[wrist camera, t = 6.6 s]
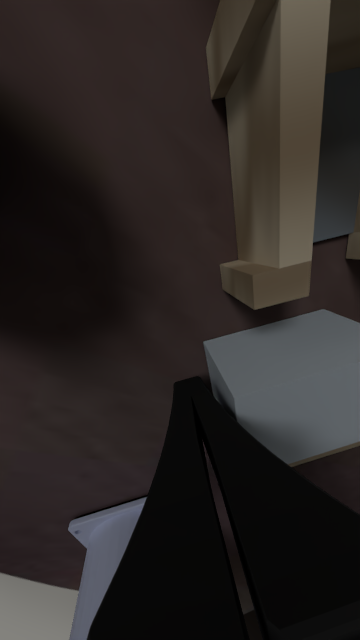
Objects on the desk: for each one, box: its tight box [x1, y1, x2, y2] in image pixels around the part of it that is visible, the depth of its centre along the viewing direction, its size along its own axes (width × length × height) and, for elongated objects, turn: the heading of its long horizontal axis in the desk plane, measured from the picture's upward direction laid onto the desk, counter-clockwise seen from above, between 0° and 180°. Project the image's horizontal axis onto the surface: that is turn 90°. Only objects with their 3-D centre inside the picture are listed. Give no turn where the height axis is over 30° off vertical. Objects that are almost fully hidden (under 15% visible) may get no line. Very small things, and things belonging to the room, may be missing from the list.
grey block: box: [203, 309, 360, 464], centre depth 10 cm, size 5×7×4 cm
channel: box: [206, 0, 360, 467], centre depth 8 cm, size 18×8×3 cm, turn 12°
